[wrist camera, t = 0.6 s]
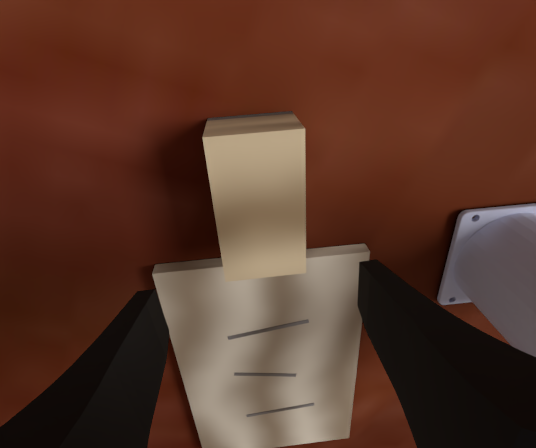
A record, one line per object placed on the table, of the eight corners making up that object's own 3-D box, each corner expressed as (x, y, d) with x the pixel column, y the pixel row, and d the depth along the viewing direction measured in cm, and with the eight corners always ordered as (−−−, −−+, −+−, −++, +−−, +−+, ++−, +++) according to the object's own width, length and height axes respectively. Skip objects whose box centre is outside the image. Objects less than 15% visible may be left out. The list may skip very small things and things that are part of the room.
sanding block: (207, 117, 18) (202, 137, 15) (291, 110, 18) (305, 128, 15) (226, 242, 22) (225, 281, 19) (294, 235, 22) (306, 273, 19)
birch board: (364, 243, 23) (370, 252, 22) (346, 427, 34) (349, 438, 33) (155, 264, 22) (151, 274, 21) (205, 445, 33) (204, 457, 32)
